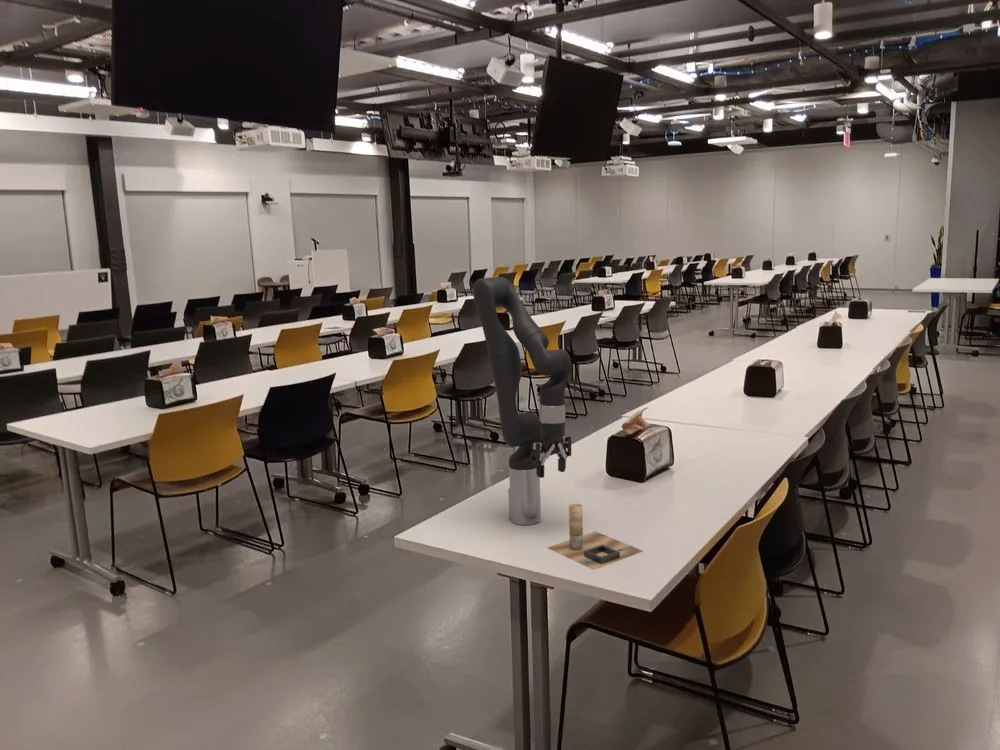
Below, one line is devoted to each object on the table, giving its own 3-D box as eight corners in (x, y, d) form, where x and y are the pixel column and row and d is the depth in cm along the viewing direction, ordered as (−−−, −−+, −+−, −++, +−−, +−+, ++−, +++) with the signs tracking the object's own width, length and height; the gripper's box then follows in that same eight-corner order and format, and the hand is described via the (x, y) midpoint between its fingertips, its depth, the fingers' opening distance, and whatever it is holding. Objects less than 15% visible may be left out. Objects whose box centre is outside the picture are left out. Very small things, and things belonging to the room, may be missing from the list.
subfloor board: (546, 552, 216) (546, 547, 216) (595, 536, 226) (595, 530, 226) (594, 575, 201) (593, 569, 200) (643, 556, 211) (643, 550, 211)
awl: (567, 547, 215) (566, 505, 213) (577, 544, 217) (576, 502, 215) (575, 551, 212) (574, 509, 210) (585, 548, 214) (584, 506, 212)
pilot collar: (584, 556, 209) (584, 551, 208) (602, 549, 213) (602, 544, 212) (601, 564, 203) (601, 558, 203) (619, 557, 207) (619, 552, 207)
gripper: (559, 413, 232) (558, 467, 234) (524, 420, 222) (524, 476, 225) (578, 418, 226) (577, 472, 229) (543, 425, 217) (542, 482, 219)
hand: (551, 474), depth 227 cm, fingers open, 8 cm apart
